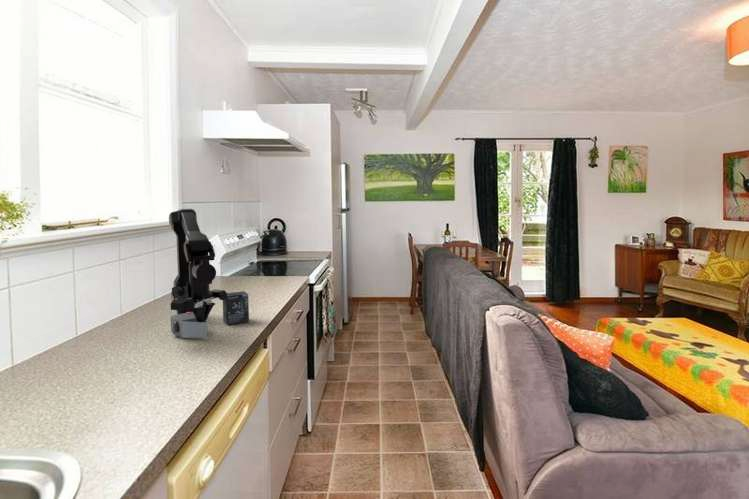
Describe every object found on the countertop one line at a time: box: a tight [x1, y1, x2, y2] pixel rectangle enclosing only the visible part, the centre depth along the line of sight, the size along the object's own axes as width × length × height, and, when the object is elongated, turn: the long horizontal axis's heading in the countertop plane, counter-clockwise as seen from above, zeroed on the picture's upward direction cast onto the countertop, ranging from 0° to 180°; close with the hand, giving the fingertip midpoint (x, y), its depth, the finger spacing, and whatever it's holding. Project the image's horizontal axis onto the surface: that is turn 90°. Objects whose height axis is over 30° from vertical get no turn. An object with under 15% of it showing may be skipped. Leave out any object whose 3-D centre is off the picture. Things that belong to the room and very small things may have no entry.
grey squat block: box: [169, 312, 197, 338], centre depth 142 cm, size 9×9×6 cm
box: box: [222, 290, 250, 326], centre depth 154 cm, size 8×6×11 cm
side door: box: [179, 321, 208, 339], centre depth 135 cm, size 1×9×5 cm, turn 84°
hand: (201, 326), depth 137 cm, fingers closed
